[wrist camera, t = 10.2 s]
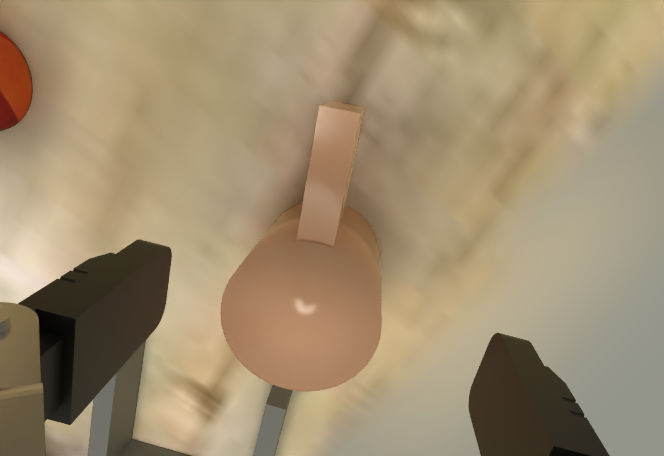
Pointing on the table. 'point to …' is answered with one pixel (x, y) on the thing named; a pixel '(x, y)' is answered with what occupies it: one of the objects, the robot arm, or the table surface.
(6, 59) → the coffee cup
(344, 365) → the peach mallet
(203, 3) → the table surface
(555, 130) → the table surface
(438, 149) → the table surface
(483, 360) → the robot arm
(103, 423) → the charcoal holder
